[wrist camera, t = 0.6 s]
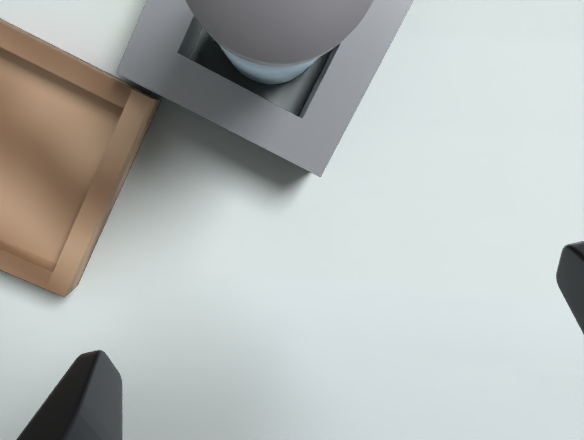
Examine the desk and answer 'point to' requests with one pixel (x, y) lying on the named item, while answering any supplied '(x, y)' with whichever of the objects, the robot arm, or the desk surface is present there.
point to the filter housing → (247, 105)
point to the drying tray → (60, 156)
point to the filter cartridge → (277, 32)
